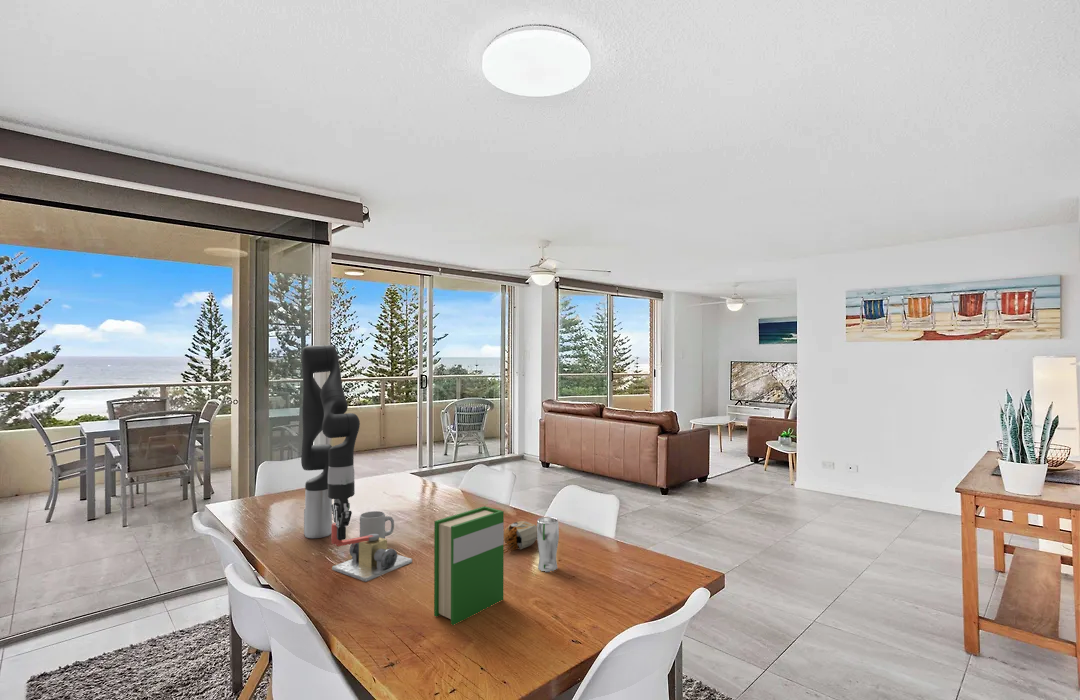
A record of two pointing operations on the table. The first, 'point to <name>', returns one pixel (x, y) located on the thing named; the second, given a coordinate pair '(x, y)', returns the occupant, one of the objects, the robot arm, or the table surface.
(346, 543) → the lever
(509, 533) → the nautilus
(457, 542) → the hardback book
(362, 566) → the valve body
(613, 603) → the table surface
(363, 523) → the mug
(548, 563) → the beer glass
